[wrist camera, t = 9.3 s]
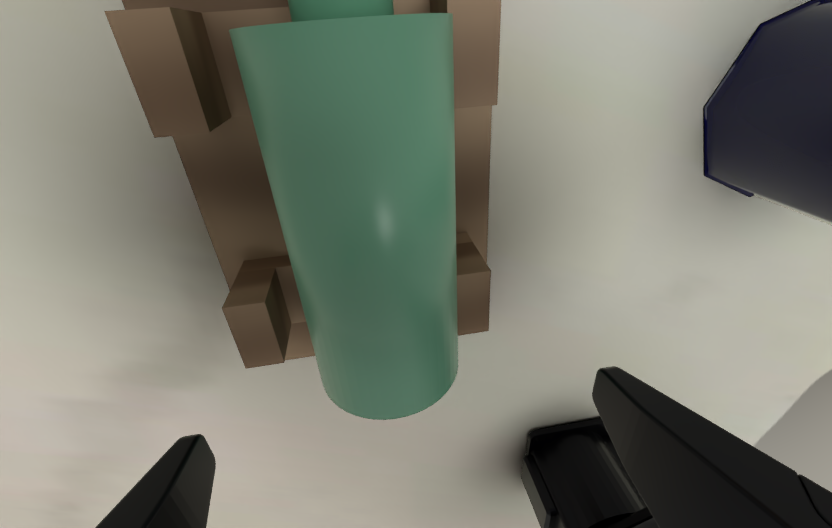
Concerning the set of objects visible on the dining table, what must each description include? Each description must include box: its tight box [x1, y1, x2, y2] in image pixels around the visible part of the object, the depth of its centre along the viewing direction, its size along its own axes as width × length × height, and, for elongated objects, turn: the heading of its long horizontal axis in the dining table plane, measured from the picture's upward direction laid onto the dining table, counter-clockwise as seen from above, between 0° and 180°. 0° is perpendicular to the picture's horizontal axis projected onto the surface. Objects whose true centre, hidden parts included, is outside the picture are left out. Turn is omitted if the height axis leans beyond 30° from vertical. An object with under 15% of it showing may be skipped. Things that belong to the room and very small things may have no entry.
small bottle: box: [229, 0, 458, 420], centre depth 12 cm, size 16×6×6 cm, turn 4°
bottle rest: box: [105, 0, 501, 368], centre depth 15 cm, size 18×12×4 cm, turn 4°
